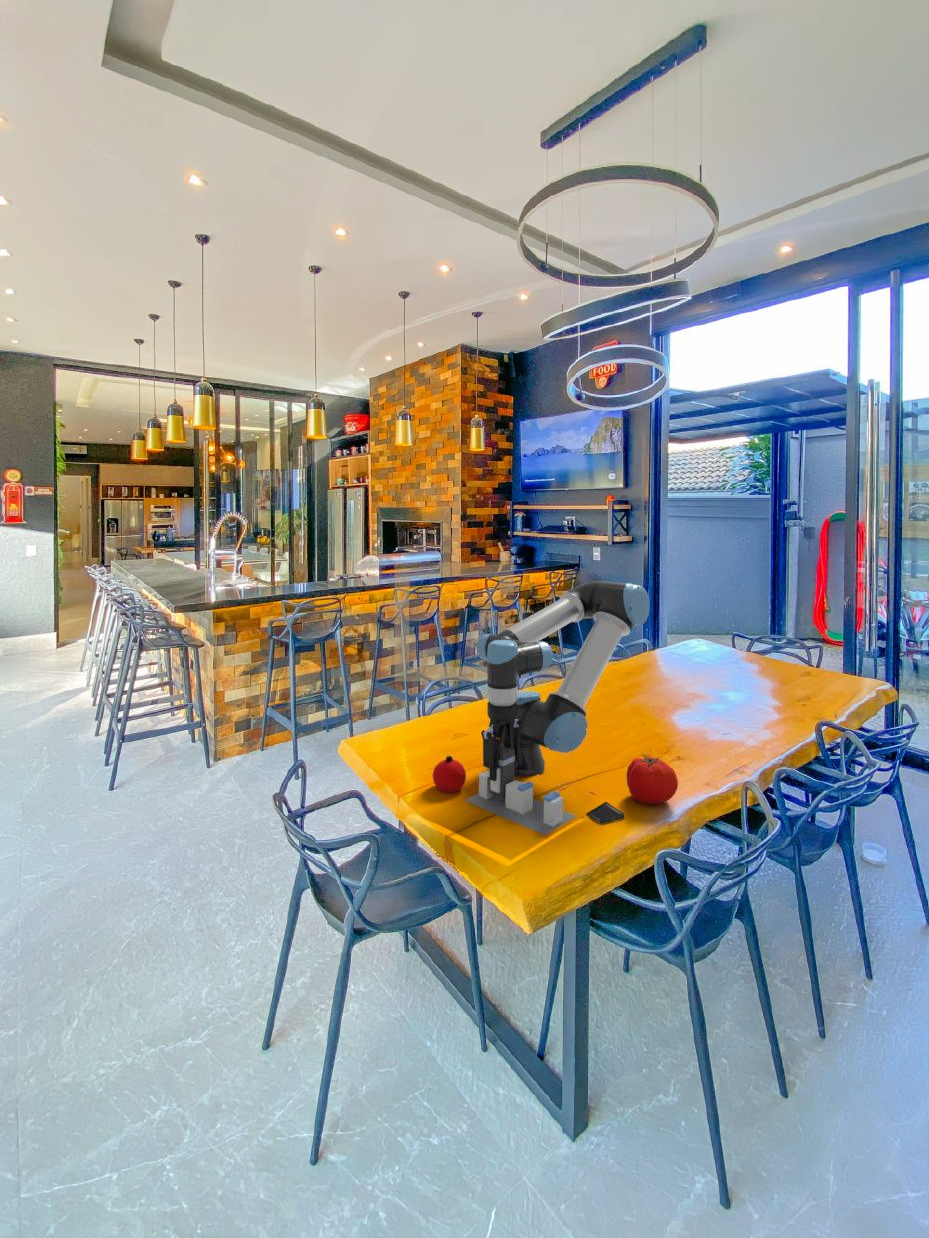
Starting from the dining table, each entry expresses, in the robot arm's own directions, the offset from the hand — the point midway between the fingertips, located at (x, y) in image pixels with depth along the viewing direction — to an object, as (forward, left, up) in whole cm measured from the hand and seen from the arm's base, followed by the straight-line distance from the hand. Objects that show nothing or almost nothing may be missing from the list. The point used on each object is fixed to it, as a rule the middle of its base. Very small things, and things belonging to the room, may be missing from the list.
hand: (502, 787), depth 166 cm
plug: (0, 0, -1) cm, 1 cm away
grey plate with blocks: (0, +6, -4) cm, 8 cm away
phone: (-15, +19, -5) cm, 25 cm away
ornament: (+4, -15, -5) cm, 16 cm away
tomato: (-29, +27, -5) cm, 40 cm away
